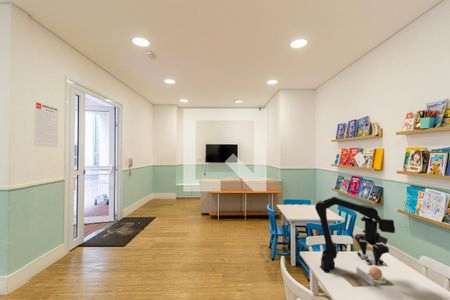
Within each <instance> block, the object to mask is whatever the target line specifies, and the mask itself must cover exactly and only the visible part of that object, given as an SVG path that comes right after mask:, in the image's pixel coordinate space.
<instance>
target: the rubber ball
mask: <svg viewBox="0 0 450 300" xmlns="http://www.w3.org/2000/svg"><path fill="white" fill-rule="evenodd" d="M368 272H369V274H370V276H371V277H372V278H374V279H380V278H381V277H382V276H383V272H382V270H381V269H380V268H379V267H377V266H371V267H370V268H369V269H368Z"/></svg>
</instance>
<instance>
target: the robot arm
mask: <svg viewBox="0 0 450 300" xmlns="http://www.w3.org/2000/svg"><path fill="white" fill-rule="evenodd" d="M335 205H336V206H339V207H342V208H345V209H347V210H351V211H355V212H358V213H359V214H360V215H362V216H363V217H361V218H360V221H361V222H364V230H362V233H359V234H358V233H356V234H355V235H354V240H355V242H356V243H357V244H358V246H359V249H360V250H361V251H362V253H363V255H366V250H367V246H368V245H370V246H372V250H371V251H373V255H374V259H375V262H376V263H378V262H379V260H381V258H382V256H383V255H384V254H389V253H390V248H389V247H388V246H386V245H387V244H388V240H389V239H388V238H387V237H386V236H385V237H384V236H382V235H381V234H380V232H383V233H388V234H395V233H396V227H395V223H394V220H393V219H389V218H388V219H386V218H382V217H381V216H380V215H379V213H378V210H377V209H376V208H375V207H374V206H373V205H367V204H358V203H356V202H352V201H349V200H346V199H343V198H340V197H337V196H331V197H330V198H327V199H324V200H318V201H317V202H316V204H315V206H314V207H315V211H316V213H317V215H318V217H319V219H320V224H321V229H322V232H323V233H322V234H323V238H324V243H325V249H324V250H323V251H322V254H321V257H320V265H319V268H320V269H321V270H322V271H323V272H324V273H331V271H333V270H335V267H336V264H335V263H336V262H335V259H336V258H337V255H338V254H339V251H338V250H339V249H338V246H337V242H334V240H333V238H332V233H331V230H330V226H329V222H328V221H329V220H328V216H327V214H328V213H327V209H329V208H331V207H333V206H335ZM378 230H380V232H378Z"/></svg>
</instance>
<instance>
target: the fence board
mask: <svg viewBox="0 0 450 300" xmlns="http://www.w3.org/2000/svg"><path fill="white" fill-rule="evenodd" d="M367 273H368V272H366V271H364V270H363V269H362V268H360V267H358V266H356V271H355V273H339V275H340V276H341V277H342V278H343V279H344V280H345V281H347V283H348V284H349V285H351V287H354V288H358V287H377V286H378V287H379V286H382V287H383V286H394V285H395V284H394V283H393V282H391V281H389V279H386V284H377V283H374V278H372V277H371V276H370V275H368V274H367Z"/></svg>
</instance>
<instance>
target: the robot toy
mask: <svg viewBox="0 0 450 300" xmlns="http://www.w3.org/2000/svg"><path fill="white" fill-rule="evenodd" d="M354 251H355V253H356V255H357V256H358V257H359V258H360V259H363V260H365V263H366V264H367V265H370V264H372V265H374V266H379V264H380V265H383V266H387V263H386V262H384V261H383V260H382V259H380V260H379V262H378V263H376V262H375V259H374V255H373V251H372V250H370V249H369V250H367V249H366V255H363V253H362V251H361V249H359V250H358V251H356V250H354Z"/></svg>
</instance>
